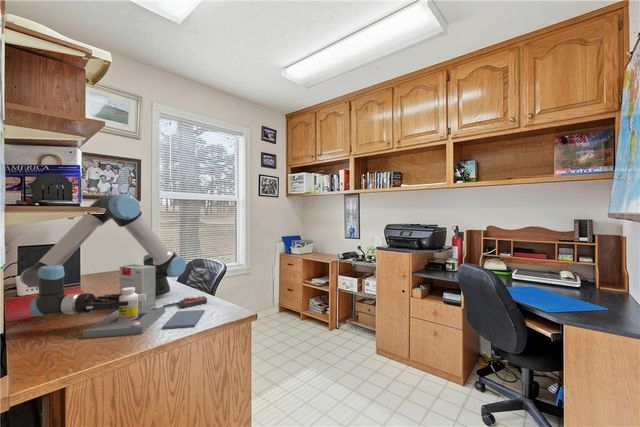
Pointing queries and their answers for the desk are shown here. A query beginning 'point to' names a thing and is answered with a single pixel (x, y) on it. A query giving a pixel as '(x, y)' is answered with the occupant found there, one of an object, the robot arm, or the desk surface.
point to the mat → (184, 319)
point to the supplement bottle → (130, 311)
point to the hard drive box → (139, 282)
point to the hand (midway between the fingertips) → (141, 299)
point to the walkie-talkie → (190, 302)
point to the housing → (124, 323)
